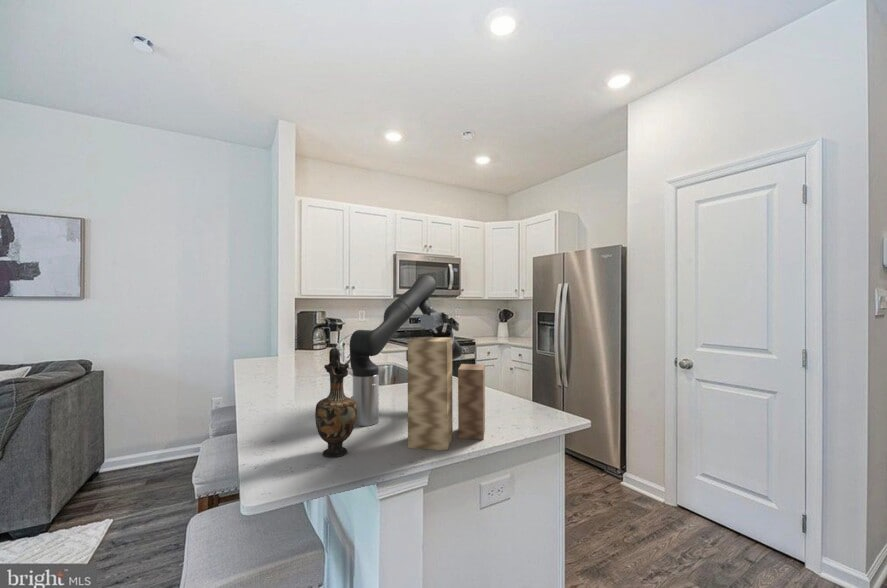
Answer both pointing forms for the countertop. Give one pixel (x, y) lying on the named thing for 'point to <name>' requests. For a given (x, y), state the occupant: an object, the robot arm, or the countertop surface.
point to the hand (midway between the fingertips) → (436, 315)
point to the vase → (335, 409)
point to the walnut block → (471, 401)
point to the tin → (431, 319)
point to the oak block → (430, 393)
